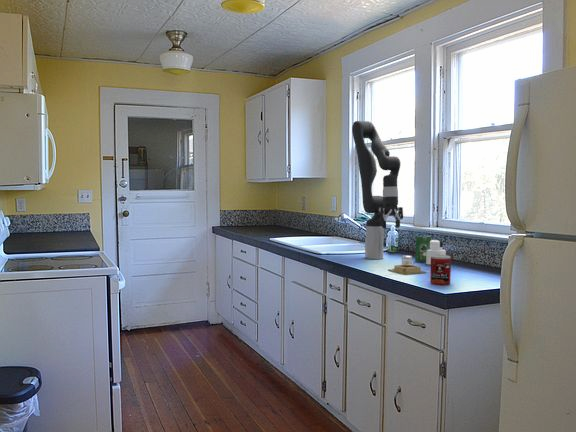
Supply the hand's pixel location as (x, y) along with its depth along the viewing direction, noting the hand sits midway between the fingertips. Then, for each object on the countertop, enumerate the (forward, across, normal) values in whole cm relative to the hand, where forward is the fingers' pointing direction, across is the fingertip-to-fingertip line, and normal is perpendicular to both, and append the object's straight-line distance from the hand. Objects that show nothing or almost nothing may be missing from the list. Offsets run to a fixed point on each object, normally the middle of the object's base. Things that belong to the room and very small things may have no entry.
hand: (390, 228), depth 267 cm
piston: (+18, +4, +16) cm, 25 cm away
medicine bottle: (+18, -15, +16) cm, 28 cm away
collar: (+19, +13, +27) cm, 35 cm away
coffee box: (+18, -16, +6) cm, 24 cm away
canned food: (+20, +20, +54) cm, 61 cm away
